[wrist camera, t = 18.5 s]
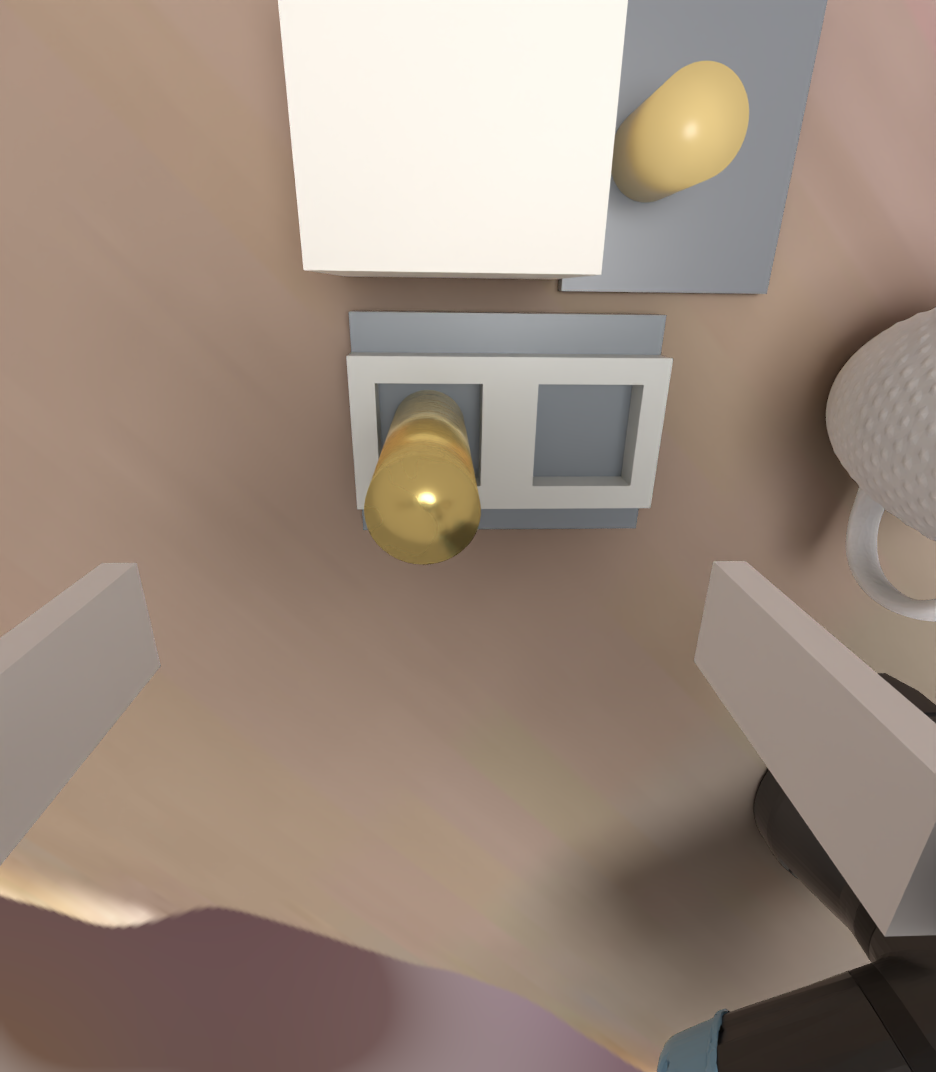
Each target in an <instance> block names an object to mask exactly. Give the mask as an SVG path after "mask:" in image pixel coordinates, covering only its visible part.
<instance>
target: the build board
mask: <svg viewBox="0 0 936 1072" xmlns="http://www.w3.org/2000/svg"><path fill="white" fill-rule="evenodd" d="M665 321H666V315H659V314H594V313H508V312H423V311H349V324H350V339H351V353H350V354H348V355H347V356H346V359H347V373H348V387H349V401H350V415H351V429H352V443H353V457H354V471H355V485H356V499H357V509H362V516H363V530H368V528H367V525H366V521H365V515H364V503H365V497H366V494H367V491H368V488H369V485H370V482H371V479H372V477H373V474H374V471H375V468H376V465H377V463H378V460H379V457H380V454H381V451H382V449H383V446H384V443H385V440H386V437H387V434H388V432H389V429H390V426H391V423H392V420H393V418H394V415H395V412H396V410H397V408H398V406H399V405H400V403H401V402H402V401H403V400H404V399H405V398H406V397H408V396H409V395H411V394H413V393H415V392H418V391H422V390H435V391H439V392H442V393H444V394H446V395H448V396H449V397H451V398H452V399H453V400H454V401H455V402H456V403H457V405H458V406H459V408H460V410H461V412H462V414H463V417H464V422H465V427H466V432H467V438H468V443H469V448H470V453H471V458H472V463H473V468H474V473H475V478H476V483H477V488H478V493H479V498H480V504H481V517H480V523H479V527H478V529H594V528H636V523H637V516H638V510H639V508H650V507H651V501H652V494H653V487H654V481H655V474H656V468H657V461H658V455H659V448H660V442H661V435H662V428H663V422H664V415H665V409H666V402H667V396H668V389H669V382H670V376H671V369H672V363H673V358H670V357H666V356H663V355H661V349H662V342H663V335H664V328H665Z"/></svg>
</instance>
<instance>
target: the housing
mask: <svg viewBox="0 0 936 1072" xmlns="http://www.w3.org/2000/svg"><path fill="white" fill-rule="evenodd" d="M627 5H628V0H278V6H279V17H280V27H281V38H282V48H283V59H284V69H285V80H286V90H287V101H288V111H289V122H290V132H291V143H292V153H293V164H294V174H295V185H296V195H297V206H298V216H299V227H300V237H301V248H302V258H303V269H304V270H306V271H312V272H319V273H325V274H332V275H338V276H345V277H414V278H483V279H551V280H554V279H563V278H573V277H583V276H593V275H601V272H602V262H603V251H604V241H605V231H606V221H607V210H608V200H609V190H610V180H611V169H612V159H613V149H614V139H615V128H616V118H617V108H618V98H619V87H620V77H621V67H622V57H623V46H624V36H625V26H626V16H627Z"/></svg>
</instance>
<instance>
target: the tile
mask: <svg viewBox="0 0 936 1072" xmlns="http://www.w3.org/2000/svg"><path fill="white" fill-rule="evenodd" d="M826 5H827V0H628V5H627V16H626V26H625V36H624V46H623V57H622V67H621V77H620V87H619V98H618V108H617V118H616V128H615V139H614V149H613V159H612V169H611V180H610V190H609V200H608V210H607V221H606V231H605V241H604V251H603V262H602V272H601V275H593V276H583V277H573V278H563V279H559V287H558V291H594V292H668V293H741V294H767V290H768V285H769V280H770V275H771V270H772V265H773V261H774V256H775V251H776V246H777V241H778V236H779V232H780V227H781V222H782V217H783V212H784V208H785V203H786V198H787V193H788V188H789V183H790V179H791V174H792V169H793V164H794V159H795V154H796V150H797V145H798V140H799V135H800V130H801V125H802V121H803V116H804V111H805V106H806V101H807V97H808V92H809V87H810V82H811V77H812V72H813V68H814V63H815V58H816V53H817V48H818V43H819V39H820V34H821V29H822V24H823V19H824V15H825V10H826Z"/></svg>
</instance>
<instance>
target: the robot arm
mask: <svg viewBox="0 0 936 1072" xmlns="http://www.w3.org/2000/svg"><path fill="white" fill-rule="evenodd" d="M694 662H695V664H696V665H697V667H698V668H699V669H700V671H701V672H702V674H703V675H704V677H705V678H706V680H707V681H708V682H709V684H710V685H711V687H712V688H713V690H714V691H715V692H716V694H717V695H718V697H719V698H720V700H721V701H722V703H723V704H724V705H725V707H726V708H727V710H728V711H729V713H730V714H731V716H732V717H733V718H734V720H735V721H736V723H737V724H738V726H739V727H740V729H741V730H742V731H743V733H744V734H745V736H746V737H747V739H748V740H749V742H750V743H751V744H752V746H753V747H754V749H755V750H756V752H757V753H758V755H759V756H760V757H761V759H762V760H763V762H764V763H765V765H766V766H767V768H768V769H769V771H768V772H767V774H766V775H765V777H764V778H763V780H762V782H761V784H760V786H759V789H758V792H757V795H756V799H755V805H754V815H755V821H756V824H757V827H758V829H759V831H760V833H761V834H762V836H763V838H764V840H765V841H766V843H767V845H768V846H769V848H770V850H771V851H772V853H773V855H774V856H775V857H776V859H777V860H778V861H779V863H780V864H781V865H782V866H783V867H784V868H785V869H786V870H787V871H789V872H790V873H791V874H792V875H794V876H795V877H796V878H798V879H799V880H800V881H801V882H802V883H803V884H804V885H805V886H806V887H807V888H808V889H809V890H810V891H811V892H812V893H813V894H814V895H815V896H816V897H817V898H818V899H819V900H820V901H821V902H822V903H823V904H824V905H825V906H826V907H827V908H828V909H829V910H830V911H831V912H832V913H833V914H834V915H835V916H836V917H838V918H839V919H840V920H841V921H842V922H843V923H844V924H845V925H846V926H847V927H848V928H849V930H850V931H851V932H852V933H853V935H854V936H855V938H856V939H857V941H858V942H859V944H860V946H861V947H862V949H863V950H864V952H865V953H866V955H867V957H868V958H869V960H870V961H871V963H870V964H867V965H864V966H861V967H859V968H856V969H853V970H850V971H848V972H847V971H846V972H843V973H841V974H838V975H835V976H833V977H830V978H827V979H824V980H822V981H819V982H816V983H813V984H811V985H808V986H805V987H803V988H800V989H797V990H794V991H791V992H788V993H785V994H782V995H779V996H776V997H773V998H770V999H767V1000H764V1001H761V1002H758V1003H755V1004H752V1005H749V1006H746V1007H743V1008H740V1009H737V1010H734V1011H731V1012H730V1011H728V1010H727V1009H723V1010H719V1011H718V1012H717V1013H716V1014H715V1016H714V1018H712V1019H709V1020H707V1021H705V1022H702V1023H700V1024H698V1025H696V1026H693V1027H691V1028H689V1029H686V1030H684V1031H682V1032H679V1033H677V1034H675V1035H674V1036H672V1037H671V1038H670V1039H669V1040H668V1041H667V1043H666V1044H665V1046H664V1048H663V1050H662V1052H661V1055H660V1058H659V1062H658V1068H657V1072H936V705H935V704H934V703H932V702H931V701H930V700H929V699H927V698H926V697H925V696H924V695H923V694H921V693H920V692H919V691H917V690H915V689H914V688H912V687H910V686H908V685H906V684H904V683H902V682H901V681H899V680H897V679H895V678H893V677H891V676H889V675H888V674H886V673H876V672H875V671H874V670H873V669H871V668H870V667H869V666H868V665H867V664H866V663H864V662H863V661H862V660H861V659H860V658H859V657H857V656H856V655H855V654H854V653H853V652H852V651H850V650H849V649H848V648H847V647H846V646H844V645H843V644H842V643H841V642H840V641H839V640H837V639H836V638H835V637H834V636H833V635H832V634H830V633H829V632H828V631H827V630H826V629H825V628H823V627H822V626H821V625H820V624H819V623H818V622H816V621H815V620H814V619H813V618H812V617H811V616H809V615H808V614H807V613H806V612H805V611H804V610H802V609H801V608H800V607H799V606H798V605H797V604H795V603H794V602H793V601H792V600H791V599H789V598H788V597H787V596H786V595H785V594H784V593H782V592H781V591H780V590H779V589H778V588H777V587H775V586H774V585H773V584H772V583H771V582H770V581H768V580H767V579H766V578H765V577H764V576H763V575H761V574H760V573H759V572H758V571H757V570H756V569H754V568H753V567H752V566H751V565H750V564H749V563H747V562H746V561H713V565H712V570H711V575H710V580H709V586H708V591H707V596H706V601H705V606H704V611H703V616H702V621H701V627H700V632H699V637H698V642H697V647H696V652H695V657H694ZM160 666H161V665H160V661H159V656H158V652H157V648H156V644H155V639H154V635H153V631H152V626H151V622H150V618H149V614H148V609H147V605H146V601H145V597H144V592H143V588H142V584H141V579H140V575H139V571H138V567H137V563H101V564H100V565H98V566H97V567H96V568H94V569H93V570H92V571H90V572H89V573H88V574H86V575H85V576H83V577H82V578H81V579H79V580H78V581H77V582H75V583H74V584H73V585H71V586H70V587H69V588H67V589H66V590H64V591H63V592H62V593H60V594H59V595H58V596H56V597H55V598H54V599H52V600H51V601H50V602H48V603H47V604H45V605H44V606H43V607H41V608H40V609H39V610H37V611H36V612H35V613H33V614H32V615H31V616H29V617H28V618H26V619H25V620H24V621H22V622H21V623H20V624H18V625H17V626H16V627H14V628H13V629H12V630H10V631H9V632H7V633H6V634H5V635H3V636H2V637H1V638H0V866H1V864H2V863H3V862H4V861H5V859H6V858H7V857H8V856H9V854H10V853H11V852H12V851H13V849H14V848H15V847H16V846H17V844H18V843H19V842H20V841H21V839H22V838H23V837H24V836H25V834H26V833H27V832H28V831H29V829H30V828H31V827H32V826H33V824H34V823H35V822H36V821H37V819H38V818H39V817H40V816H41V814H42V813H43V812H44V811H45V810H46V808H47V807H48V806H49V805H50V803H51V802H52V801H53V800H54V798H55V797H56V796H57V795H58V793H59V792H60V791H61V790H62V788H63V787H64V786H65V785H66V783H67V782H68V781H69V780H70V778H71V777H72V776H73V775H74V773H75V772H76V771H77V770H78V768H79V767H80V766H81V765H82V763H83V762H84V761H85V760H86V758H87V757H88V756H89V755H90V753H91V752H92V751H93V750H94V749H95V747H96V746H97V745H98V744H99V742H100V741H101V740H102V739H103V737H104V736H105V735H106V734H107V732H108V731H109V730H110V729H111V727H112V726H113V725H114V724H115V722H116V721H117V720H118V719H119V717H120V716H121V715H122V714H123V712H124V711H125V710H126V709H127V707H128V706H129V705H130V704H131V702H132V701H133V700H134V699H135V697H136V696H137V695H138V694H139V692H140V691H141V690H142V689H143V688H144V686H145V685H146V684H147V683H148V681H149V680H150V679H151V678H152V676H153V675H154V674H155V673H156V671H157V670H158V669H159V668H160Z"/></svg>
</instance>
